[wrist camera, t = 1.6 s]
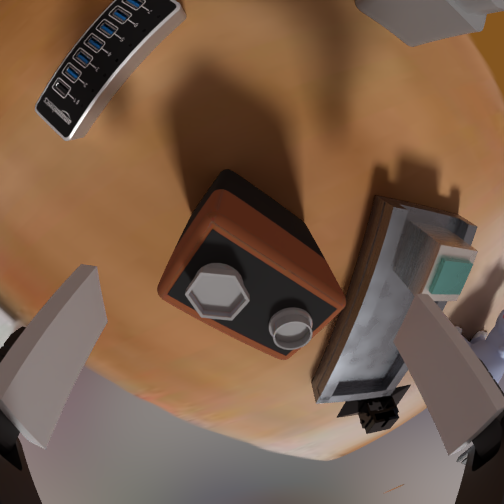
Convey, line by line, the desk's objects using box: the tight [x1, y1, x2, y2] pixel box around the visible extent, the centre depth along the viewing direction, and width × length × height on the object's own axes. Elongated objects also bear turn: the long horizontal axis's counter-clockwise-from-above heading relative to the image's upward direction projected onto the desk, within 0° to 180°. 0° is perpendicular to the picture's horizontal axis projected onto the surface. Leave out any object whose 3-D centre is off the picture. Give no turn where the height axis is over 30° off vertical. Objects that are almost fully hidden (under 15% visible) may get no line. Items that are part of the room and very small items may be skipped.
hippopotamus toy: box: [455, 310, 504, 384], centre depth 22 cm, size 11×15×10 cm
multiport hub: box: [35, 0, 186, 141], centre depth 12 cm, size 4×11×2 cm, turn 135°
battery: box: [157, 169, 346, 360], centre depth 14 cm, size 4×7×10 cm, turn 54°
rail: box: [311, 195, 478, 404], centre depth 20 cm, size 20×9×6 cm, turn 173°
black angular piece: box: [337, 385, 410, 434], centre depth 29 cm, size 12×7×5 cm, turn 86°
